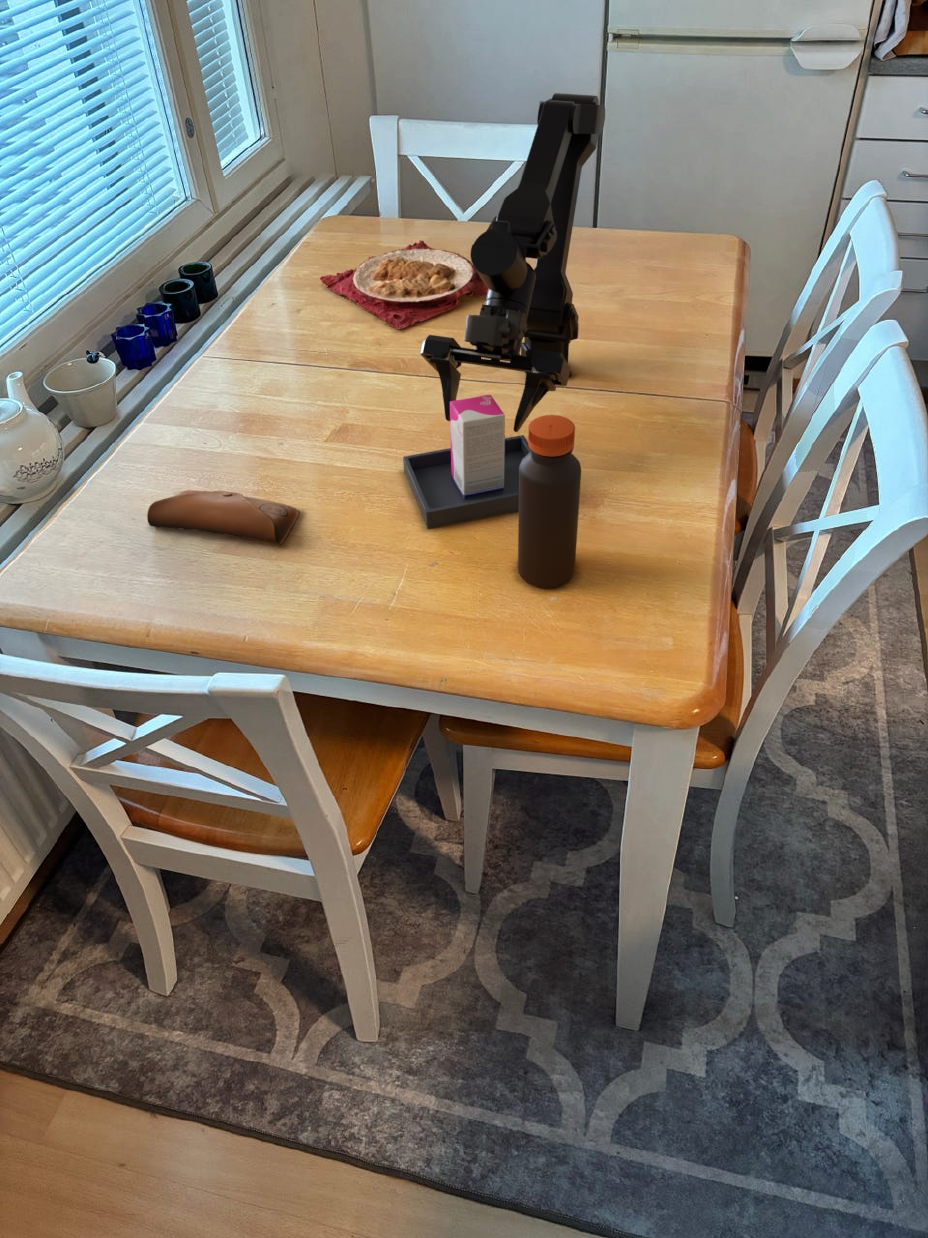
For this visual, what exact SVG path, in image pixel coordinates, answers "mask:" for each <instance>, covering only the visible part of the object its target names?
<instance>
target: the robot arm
mask: <svg viewBox="0 0 928 1238" xmlns="http://www.w3.org/2000/svg"><path fill="white" fill-rule="evenodd" d="M538 106H539V107H538V111H537V119H536V120H537V122H536V124H537V127H536V130H535V132H534V135H533V139H532V142H531V146H530V149H529V150H528V151H529V152H528V155H527V158H526V160H525V164H524V168H523V170H522V174H521V176H520V181H519V183H518V186H517V188H516V189H514V190H513V191H511V193H509V194H508V195H506V196H505V197H504V198H503V201H502V202H501V206H500V207H499V210H498V213H497V215H495V216H494V217H493V219H492V220H491V222H490V224H489V226H488V227H487V229H486V231H484V232H482V233H481V234H480V235H479V236H478V237H477V238H476V239H475V240H474V242H473V244H471V248H470V255H469V256H470V262H471V263H472V265H473V266H474V267H475V269H476V271H477V272H478V274H479V276H480V277H481V279H482V281H483V282H484V284H485V285H486V286H487V287H488V292H487V293H486V298H485V302H484V304H483V303H481V307H480V310H479V314H466V322H465V323H466V324H465V332H464V342H465V343H469V344H470V345H471V346H474V347H475V348H469V347H461V345H460V344H459V343H458V342H457V341H456V339H455V338H454V337H449V336H441V335H435V334H428V336H426V337H425V339H423V341H422V343H421V347H420V352H419V355H420V356H421V357H422V358H423V359H424V360H425V361H426V362H427V363H428V364H429V366H430V367H432V368H433V369H434V370H435V371H436V372H437V373H438V376H439V380H440V385H441V391H442V400H443V408H444V418H445V420H446V421H447V422H450V401H455V400H457V396H458V392H459V388H460V383H461V382H460V381H461V377H462V374H461V371H459V370H458V368H460V367H461V366H462V364H468V365H475V366H481V367H487V368H488V367H489V368H495V369H502V370H509V371H510V370H511V371H516V372H524V373H525V381H524V388H523V390H522V395H521V398H520V402H519V404H518V408H517V410H516V411H517V412H516V413H515V418H514V423H513V429H512V430H513V432H514V433H518V432H519V431H520V430H521V428H522V426H523V425H524V424H525V422H526V420H527V419H528V418H529V416H530V414H531V413H532V412H533V410H534V409H535V407H536V406H537V405H538V404H539V402H540V401H541V400H542V399H543V398H544V397H545V396H546V395H547V393H548V392H556V391H557V390H556V389H557V386H558V387H567V386H568V383H569V382H568V381H569V377H571V376H572V374H573V373H572V371H571V370H570V369H571V368H570V366H569V354H570V353H569V352H570V351H569V350H570V344H571V343H572V341H574V340H577V339H578V338H579V331H580V330H579V316H580V315H579V313H578V312H577V309H576V307H575V304H574V303H573V297H574V293H573V292H574V291H573V290H572V286H571V285H570V282H569V278H568V276H567V266H568V265H567V264H568V258H569V253H570V247H571V239H572V233H573V228H574V227H573V226H574V221H575V214H576V208H577V202H578V194H579V190H580V189H579V188H580V182H581V177H582V169H583V166H584V165H585V164H586V163H587V161H588V160H589V158H591V156H592V154H593V153H594V152H595V151H596V149H597V146H598V140H599V136H600V135H601V134H602V133H603V131H604V126H605V122H606V106H605V105H604V104H600V103H599V96H598V95H593V94H592V95H591V94H577V93H576V94H575V93H560V92H554V94H553V95H552V97H551V98H548V99H546V101H545V100H544V101H542V100H540V101H539V104H538ZM527 259H534V260H535V259H536V260H535V266H534V268H533V267H532V265H531V264H530V263H529V262H527ZM523 339H524V340H523ZM523 341H524V342H523Z"/></svg>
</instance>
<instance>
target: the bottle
mask: <svg viewBox="0 0 928 1238" xmlns="http://www.w3.org/2000/svg"><path fill="white" fill-rule="evenodd" d="M527 435H528V436H527V437H528V438H527V441H528V444H529V451H530V453H529V454H527V455H526V456H525V457H524V458H523V459H522V461H521V464H520V466H519V511H518V521H517V523H518V528H517V531H518V534H517V535H518V536H517V571H518V574H519V576H520V577H521V579H522V580H523V581H524V582H526V583H527V584H529V585H531V586H533V587H536V588H540V589H541V588H542V589H553V588H557V587H561V586H563V585H565V584H566V583H569V581H570V580H571V579H572V578H573V576H574V573H575V570H576V559H577V557H576V556H577V545H578V544H577V542H578V527H579V513H580V512H579V511H580V500H581V499H580V498H581V497H580V496H581V480H582V466H581V462H580V460H579V459H578V458H577V457H576V456H575V455H574V454H573V452H574V448H575V447H574V446H575V440H576V439H575V437H576V425H575V423H574V422H573V421H572V420H571V419H569V418H568V417H565V416H562V415H559V414H546V415H541V416H538V417H536V418H534V419H532V420H531V421H530V422H529V424H528V433H527Z"/></svg>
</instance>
